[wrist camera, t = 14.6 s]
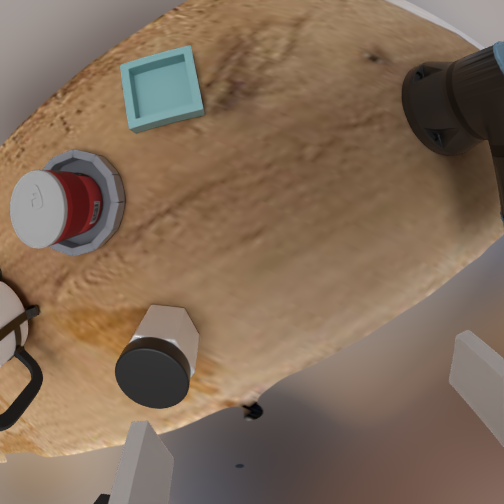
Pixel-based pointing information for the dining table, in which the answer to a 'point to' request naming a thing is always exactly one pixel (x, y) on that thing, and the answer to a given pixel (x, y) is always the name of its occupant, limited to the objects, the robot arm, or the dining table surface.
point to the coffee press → (17, 350)
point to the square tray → (161, 89)
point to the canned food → (54, 206)
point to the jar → (159, 358)
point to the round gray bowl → (111, 199)
